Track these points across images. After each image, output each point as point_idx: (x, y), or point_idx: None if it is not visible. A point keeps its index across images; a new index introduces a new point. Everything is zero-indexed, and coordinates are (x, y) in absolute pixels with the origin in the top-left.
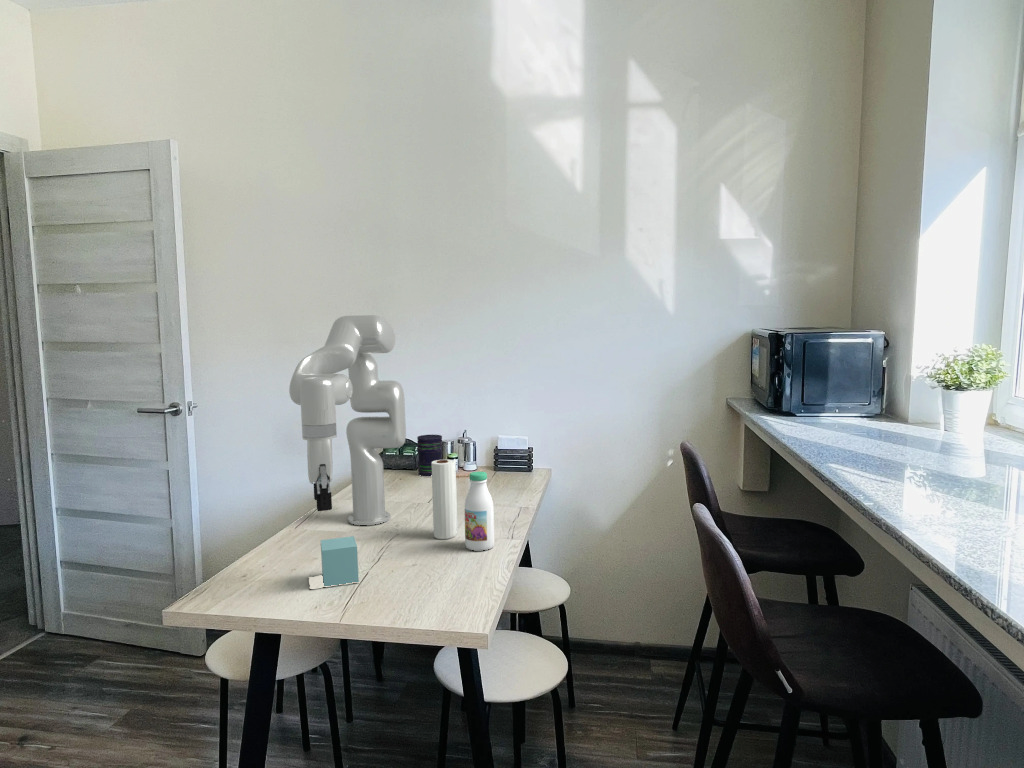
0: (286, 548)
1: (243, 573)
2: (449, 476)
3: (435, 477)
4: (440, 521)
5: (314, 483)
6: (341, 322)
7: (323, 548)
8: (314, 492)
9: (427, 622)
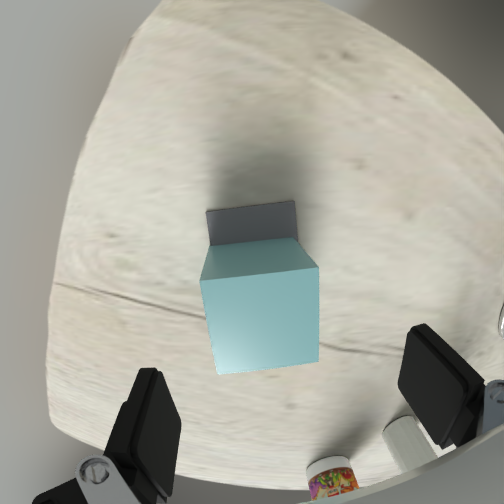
0: (473, 153)
1: (362, 55)
2: None
3: None
4: (398, 447)
5: (476, 388)
6: None
7: (223, 283)
8: (436, 351)
9: (62, 391)
